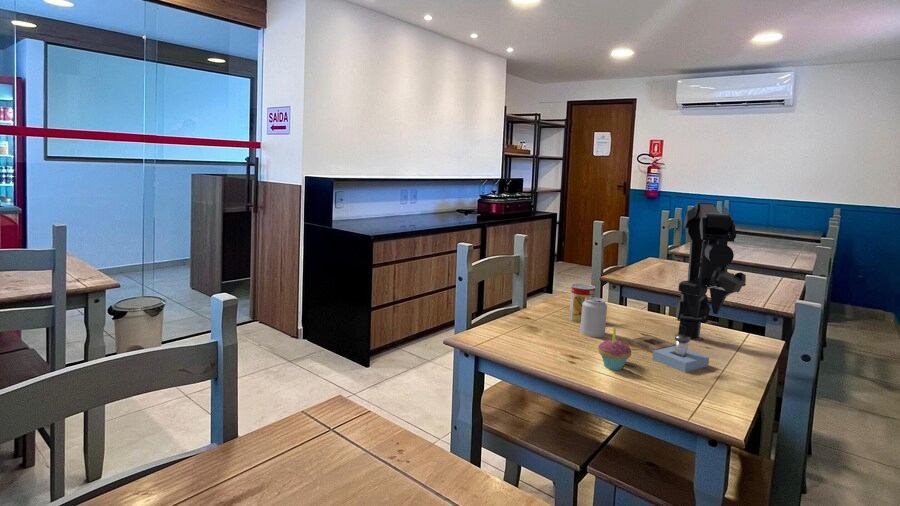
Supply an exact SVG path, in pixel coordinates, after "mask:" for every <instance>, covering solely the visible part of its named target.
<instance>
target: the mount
mask: <svg viewBox="0 0 900 506" xmlns="http://www.w3.org/2000/svg"><path fill="white" fill-rule="evenodd" d="M630 345H631V346H633V347H635V348H638V349H641V350H643V351H646V352H649V353H650V354H651V353H652V354H653V351H654V350H659V349H663V348H668V347H672V346H676V343H674V342H671V341H668V340H665V339H662V338H659V337H656V336H653V335H650V334H649V335H645V336H641V337H640V336H639V337H636V338H632V339H631V338H630V339H629V346H630Z"/></svg>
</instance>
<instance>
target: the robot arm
mask: <svg viewBox="0 0 900 506" xmlns="http://www.w3.org/2000/svg"><path fill="white" fill-rule="evenodd" d="M734 221H735V220H734V218H732V216H731V214H729V213H721V212H720V211H719V210H718V209H717V208H716V204H715V203H713V202H703V201H702V202H701V201H698V202H696V204H695V206H694V207H692V208H691V209H689V210H687V212H686V214H685V216H684V221H683V229H685V236H686V238H687V239H688V241H689V257H688V270H687V271H688V272H687V280H683V281H681V282H680V283H678V288H677V290H678V292H680V295H681V296H680V300H679V301H678V304H677V306H676V309H675V318H676V320H677V321H679V324H678V331H677V333H678V334H680V335H686V336H689V337H690V340H691V339H692V340H693V339H694V340H695V339H698V340H701V341H704V339H705V338H704V337H701V336H700V334H701V325H702V323H705V324H707V323H708V322H709V317H710V313H711V310H712V314H713V315H718V314H719V312H720V310H721V308H722V306H723V304H724V302H725V300H726V299H727V297H728V296H729V295H731V294H734V293H739V292H740V291H741V289H742V287H745V286H746V285H747V283H746V281H747V279H746V277H747V276H746V274H745V273H743V272H736V273H733V272H732V273H731V272H729V271H728V266H729V265H730V264H731V263H732V262H733V260H734V257H735V254H734V251H733V249H732V248H731V247H730V246H729V245H728V242H732V243H734V242H735V239H736V237H737V231H736V223H735V222H734ZM708 290H709V295H710V301H711V308H710V304H709V303H708V302H709V301H708V295H707V293H708ZM678 334H677V335H678Z"/></svg>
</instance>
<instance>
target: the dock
mask: <svg viewBox="0 0 900 506" xmlns="http://www.w3.org/2000/svg"><path fill="white" fill-rule="evenodd" d="M675 347H676V346H672V347H668V348H663V349H659V350H654V351H653V353H652V361H655V362H657V363H659V364H662V365H665V366H667V367H670V368H672V369H675V370H677V371H680V372H682V373H688V372H692V371H696V370H699V369H702V368H706V367H709V363H710V356H708V355H704V354H702V353H699V352H697V351H694V350H690V349H689V348H688V349H687V357H684V358H682V357H679V356H677V355H675Z"/></svg>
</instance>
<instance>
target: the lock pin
mask: <svg viewBox="0 0 900 506" xmlns="http://www.w3.org/2000/svg"><path fill="white" fill-rule="evenodd" d="M674 339H675V340H676V341H675V344H676V347H675V355H677V356H679V357H682V358H684V357H687V349H688V350H689V342H690V341H691V338H690V337H689V336H686V335H680V334H675V335H674Z"/></svg>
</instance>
